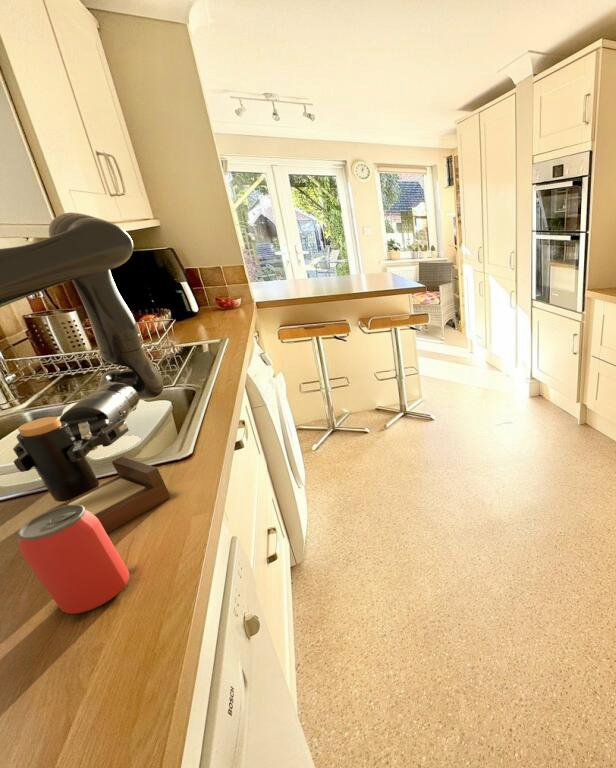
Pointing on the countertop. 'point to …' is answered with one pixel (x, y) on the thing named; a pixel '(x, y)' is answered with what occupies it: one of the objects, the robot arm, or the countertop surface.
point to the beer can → (73, 558)
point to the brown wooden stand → (123, 494)
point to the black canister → (56, 458)
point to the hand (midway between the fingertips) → (47, 461)
